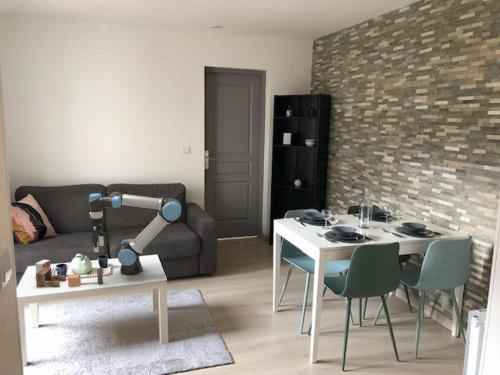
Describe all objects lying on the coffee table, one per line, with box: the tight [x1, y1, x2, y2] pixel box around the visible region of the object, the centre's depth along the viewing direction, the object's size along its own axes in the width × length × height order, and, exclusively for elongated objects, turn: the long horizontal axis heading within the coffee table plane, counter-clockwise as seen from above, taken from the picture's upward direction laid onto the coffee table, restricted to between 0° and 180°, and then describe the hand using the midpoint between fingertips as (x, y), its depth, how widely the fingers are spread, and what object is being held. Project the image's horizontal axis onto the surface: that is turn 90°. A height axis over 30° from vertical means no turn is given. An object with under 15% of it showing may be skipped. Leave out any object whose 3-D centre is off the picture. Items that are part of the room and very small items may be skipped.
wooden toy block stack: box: [35, 267, 67, 288], centre depth 269 cm, size 14×11×9 cm
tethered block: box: [67, 267, 104, 288], centre depth 269 cm, size 21×6×10 cm, turn 98°
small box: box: [34, 259, 52, 274], centre depth 282 cm, size 8×6×10 cm
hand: (99, 248), depth 273 cm, fingers open, 13 cm apart
